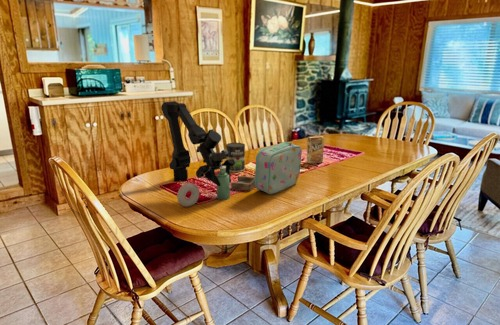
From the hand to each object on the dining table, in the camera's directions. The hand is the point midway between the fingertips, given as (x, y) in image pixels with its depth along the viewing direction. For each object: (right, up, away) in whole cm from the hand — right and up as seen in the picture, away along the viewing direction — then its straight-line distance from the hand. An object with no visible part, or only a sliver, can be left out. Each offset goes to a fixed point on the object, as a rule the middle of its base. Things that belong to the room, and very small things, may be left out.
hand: (225, 184), depth 152 cm
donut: (-14, -9, -6) cm, 18 cm away
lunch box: (+24, -3, +15) cm, 29 cm away
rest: (+8, -2, +17) cm, 19 cm away
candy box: (+49, +9, +56) cm, 75 cm away
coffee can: (+3, +5, +42) cm, 43 cm away
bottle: (-1, -6, +3) cm, 7 cm away
